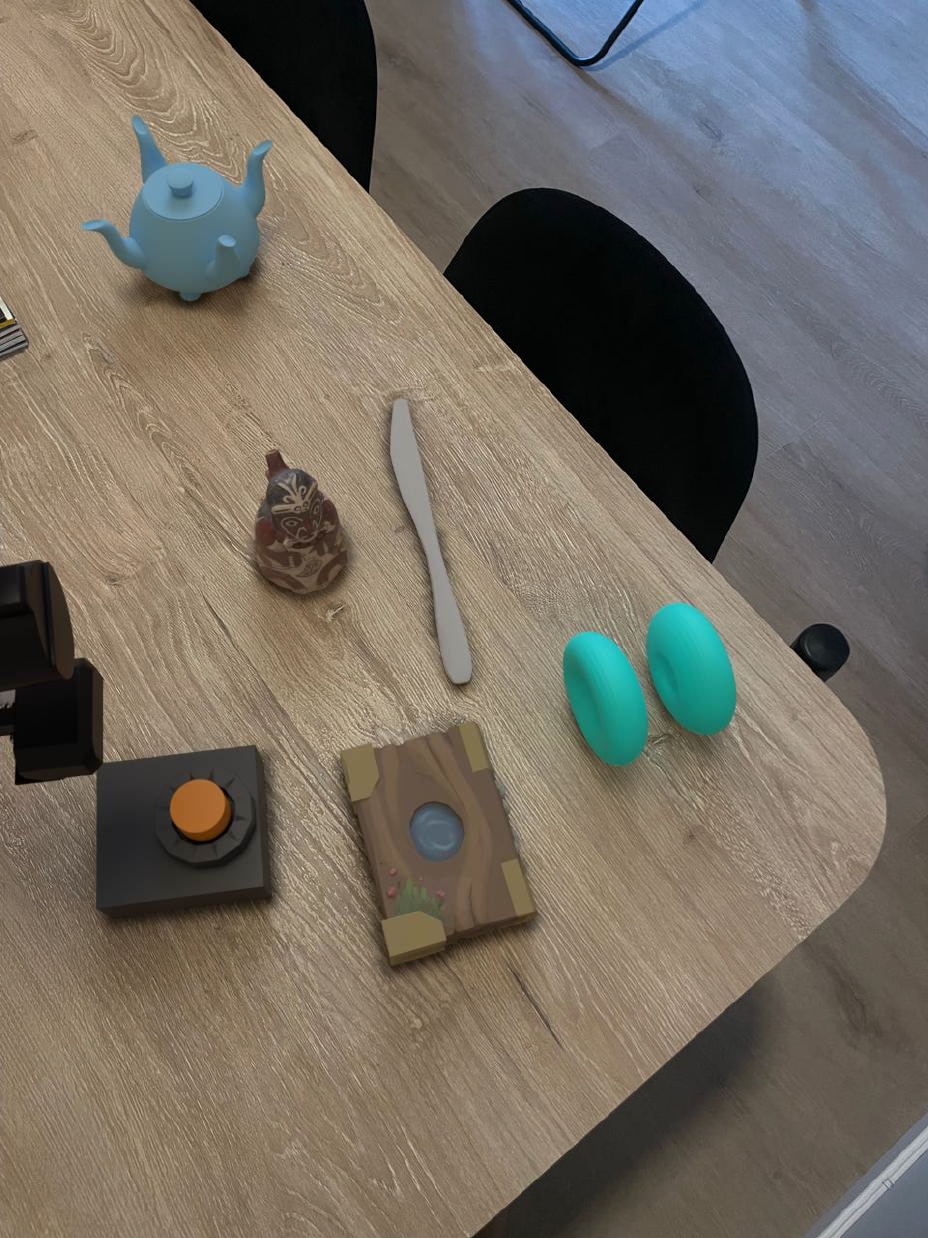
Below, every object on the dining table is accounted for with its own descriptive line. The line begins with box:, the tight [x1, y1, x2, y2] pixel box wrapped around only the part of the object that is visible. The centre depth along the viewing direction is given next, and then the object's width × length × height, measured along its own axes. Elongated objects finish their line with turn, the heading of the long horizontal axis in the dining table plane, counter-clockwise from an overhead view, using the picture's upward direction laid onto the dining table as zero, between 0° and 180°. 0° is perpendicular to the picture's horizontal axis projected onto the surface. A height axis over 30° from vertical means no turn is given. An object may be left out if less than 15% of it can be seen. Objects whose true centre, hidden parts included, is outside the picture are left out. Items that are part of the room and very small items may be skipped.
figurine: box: [253, 447, 348, 595], centre depth 82 cm, size 7×7×12 cm
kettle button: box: [170, 779, 231, 841], centre depth 71 cm, size 4×4×2 cm
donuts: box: [562, 602, 737, 767], centre depth 78 cm, size 10×10×10 cm
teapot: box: [80, 114, 274, 302], centre depth 95 cm, size 13×13×10 cm
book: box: [339, 720, 539, 967], centre depth 75 cm, size 15×11×5 cm
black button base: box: [95, 744, 273, 920], centre depth 74 cm, size 11×10×6 cm
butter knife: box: [389, 398, 473, 685], centre depth 88 cm, size 1×27×3 cm
